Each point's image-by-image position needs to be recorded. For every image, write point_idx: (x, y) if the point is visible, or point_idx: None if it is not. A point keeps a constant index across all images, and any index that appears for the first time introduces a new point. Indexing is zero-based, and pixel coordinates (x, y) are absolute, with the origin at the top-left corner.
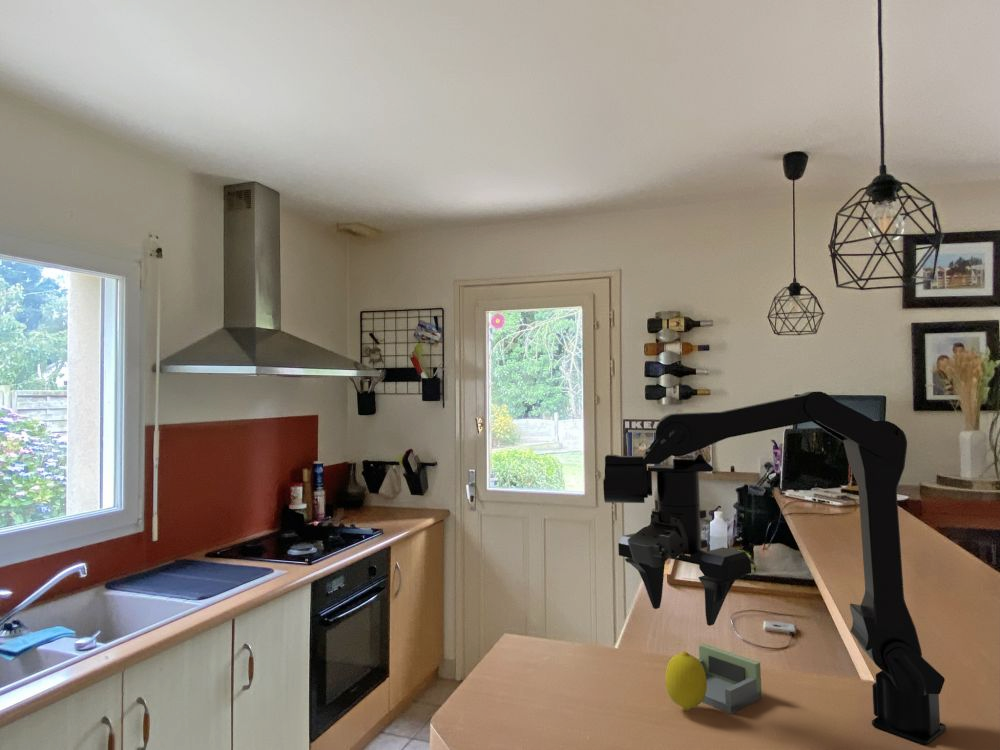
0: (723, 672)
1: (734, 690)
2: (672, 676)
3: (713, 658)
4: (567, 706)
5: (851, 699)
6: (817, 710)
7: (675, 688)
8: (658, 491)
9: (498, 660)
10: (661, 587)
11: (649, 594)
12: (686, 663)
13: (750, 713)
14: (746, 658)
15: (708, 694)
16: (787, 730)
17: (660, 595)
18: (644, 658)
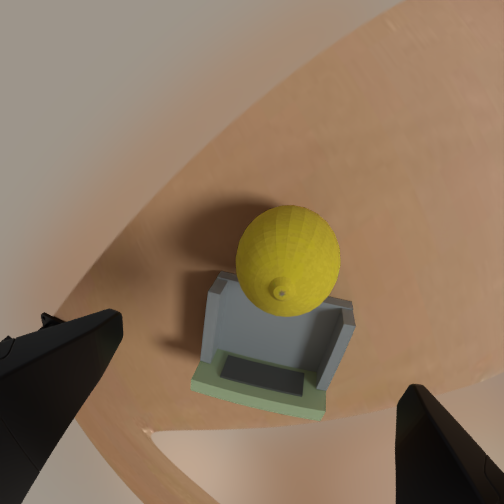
0: (270, 371)
1: (207, 302)
2: (302, 220)
3: (290, 391)
4: (487, 116)
5: (131, 386)
6: (138, 345)
7: (293, 207)
8: None
9: None
10: (400, 486)
11: (452, 424)
12: (264, 255)
13: (197, 290)
14: (217, 395)
15: None
16: (133, 267)
17: (400, 450)
18: (436, 378)
